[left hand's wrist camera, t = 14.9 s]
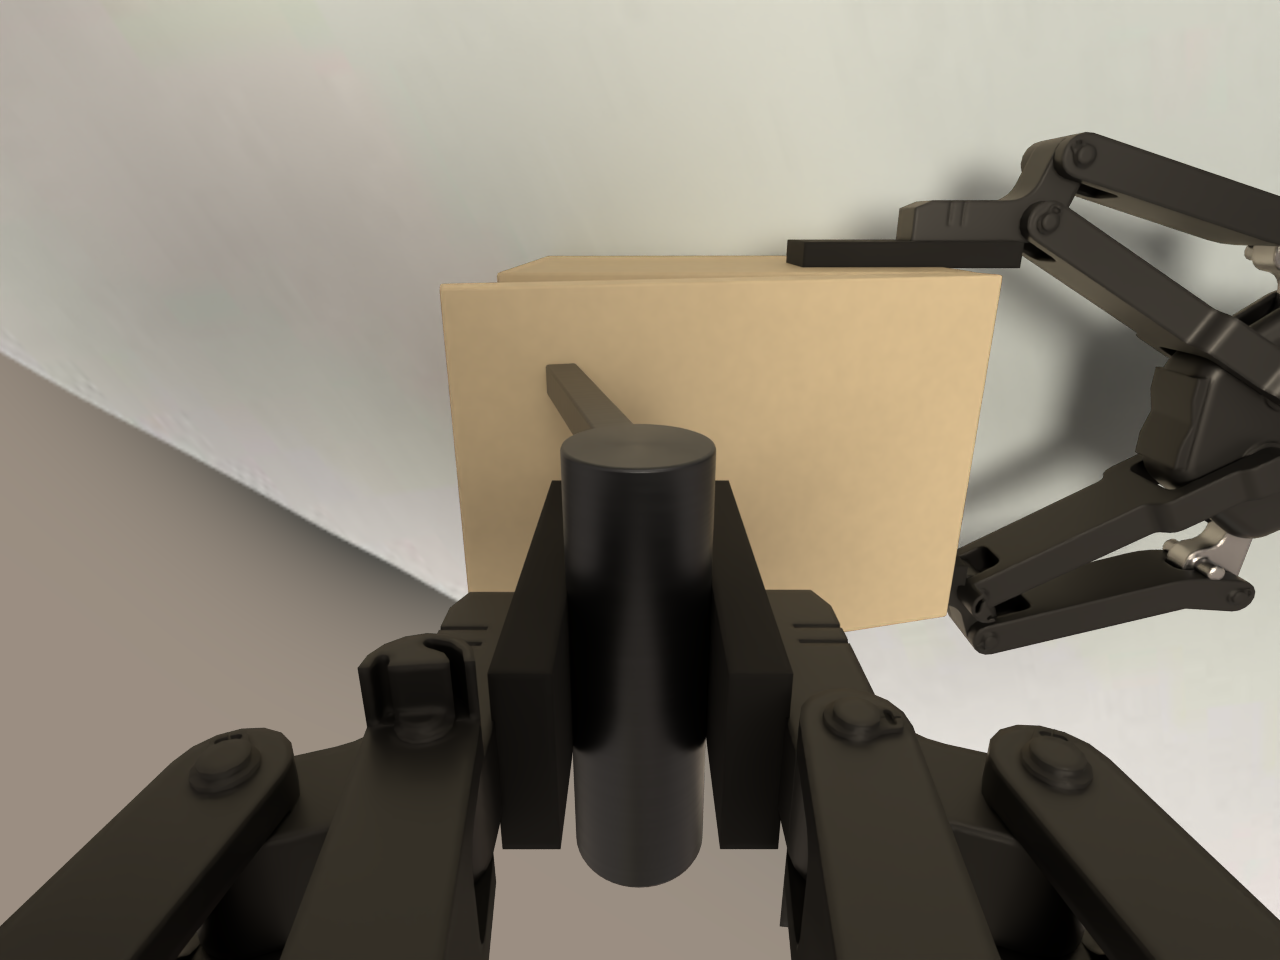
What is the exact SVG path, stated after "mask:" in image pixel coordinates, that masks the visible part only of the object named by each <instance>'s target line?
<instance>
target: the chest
mask: <svg viewBox="0 0 1280 960" xmlns="http://www.w3.org/2000/svg"><path fill="white" fill-rule="evenodd" d="M786 257H787V256H547V257H544V258H541V259H538V260H535V261H532V262H529V263H526V264H523V265H520V266H517V267H514V268H511V269H508V270H505V271H502V272H500V273H498V274H497V283H502V282H548V281H593V280H639V279H684V278H730V277H776V276H821V275H867V274H912V273H958V272H971V271H964V270H958V269H951V268H945V267H800V266H796V265H793V264H789V263H786Z"/></svg>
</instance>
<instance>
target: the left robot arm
mask: <svg viewBox="0 0 1280 960" xmlns="http://www.w3.org/2000/svg"><path fill="white" fill-rule="evenodd" d="M358 674H359V680H360V686H361V692H362V698H363V704H364V710H365V717H366V723H367V729H366V732H365V734H364V737H363V738H361V739H358V740H356V741H354V742H350V743H347V744H344V745H340V746H337V747H333V748H328V749H324V750H319V751H315V752H310V753H306V754H301V755H297V756H294V754H293V749H292V744H291V742H290V741H289V740H288V739H287V738H286V737H285V736H284V735H283V734H282V733H281V732H278V731H274V730H270V729H267V728H247V729H239V730H235V731H231V732H227V733H224V734H220V735H216V736H214V737H212V738H210V739H208V740H206V741H204V742H202V743H200V744H198V745H195V746H193V747H192V748H190V749H189V750H188V751H186V752H185V753H184V754H182V755H181V756H180V757H178V758H177V759H176V760H174V761H173V762H172V763H171V764H170V765H169V766H167V767H166V768H165V769H164V770H163V771H162V772H161V773H160V774H159V775H158V776H157V777H156V778H155V779H154V780H153V781H152V782H151V783H150V784H149V785H148V786H147V787H146V788H144V789H143V790H142V791H141V792H140V793H139V794H138V795H137V796H136V797H135V798H134V799H133V800H132V801H131V802H130V803H129V804H128V805H127V806H126V807H125V808H124V809H123V810H121V811H120V812H119V813H118V814H117V815H116V816H115V817H114V818H113V819H112V820H111V821H110V822H109V823H108V824H107V825H106V826H105V827H104V828H103V829H102V830H101V831H99V832H98V833H97V834H96V835H95V836H94V837H93V838H92V839H91V840H90V841H89V842H88V843H87V844H86V845H85V846H84V847H83V848H82V849H81V850H80V851H79V852H78V853H76V854H75V855H74V856H73V857H72V858H71V859H70V860H69V861H68V862H67V863H66V864H65V865H64V866H63V867H62V868H61V869H60V870H59V871H58V872H57V873H56V874H55V875H53V876H52V877H51V878H50V879H49V880H48V881H47V882H46V883H45V884H44V885H43V886H42V887H41V888H40V889H39V890H38V891H37V892H36V893H35V894H34V895H32V896H31V897H30V898H29V899H28V900H27V901H26V902H25V903H24V904H23V905H22V906H21V907H20V908H19V909H18V910H17V911H16V912H15V913H14V914H13V915H12V916H11V917H9V918H8V919H7V920H6V921H5V922H4V923H3V924H2V925H1V926H0V960H489V952H490V941H491V930H492V920H493V909H494V899H495V888H496V876H495V866H494V855H493V851H494V847H495V843H496V838H497V834H498V829H499V825H501V836H502V847H503V849H561V841H562V833H563V825H564V817H565V809H566V801H567V793H568V785H569V777H570V769H571V761H572V753H573V720H572V695H571V670H570V645H569V620H568V595H567V589H566V578H565V555H564V531H563V507H562V484H561V480H552V482H551V485H550V488H549V490H548V493H547V496H546V499H545V502H544V505H543V508H542V511H541V514H540V517H539V520H538V523H537V526H536V529H535V532H534V535H533V538H532V541H531V544H530V547H529V550H528V553H527V556H526V559H525V562H524V565H523V568H522V571H521V574H520V577H519V580H518V583H517V586H516V589H515V592H469V593H468V594H467V595H465V596H464V597H463V598H462V599H460V600H459V601H458V602H457V603H455V604H454V605H453V606H452V607H450V609H449V611H448V613H447V615H446V617H445V619H444V621H443V623H442V625H441V630H439V631H438V633H437V634H433V633H425V634H418V635H412V636H406V637H403V638H400V639H397V640H394V641H392V642H389V643H386V644H384V645H382V646H381V647H379V648H378V649H376V650H375V651H373V652H372V653H370V654H369V655H367V657H366V658H365V659H364V660H363V662H362V663H361V664H360V666H359V667H358ZM706 740H707V748H708V756H709V764H710V772H711V780H712V788H713V796H714V804H715V812H716V820H717V828H718V836H719V844H720V849H778V843H779V832H780V821H781V823H782V828H783V832H784V836H785V841H786V845H787V855H786V866H785V876H784V887H783V897H782V908H781V919H780V926H782V927H788V929H789V940H790V950H791V960H1280V920H1279V919H1278V918H1277V917H1276V916H1275V915H1274V914H1273V913H1271V912H1270V911H1269V910H1268V909H1267V908H1266V907H1265V906H1264V905H1263V904H1262V903H1261V902H1260V901H1259V900H1258V899H1257V898H1256V897H1255V896H1254V895H1253V894H1251V893H1250V892H1249V891H1248V890H1247V889H1246V888H1245V887H1244V886H1243V885H1242V884H1241V883H1240V882H1239V881H1238V880H1237V879H1236V878H1235V877H1234V876H1232V875H1231V874H1230V873H1229V872H1228V871H1227V870H1226V869H1225V868H1224V867H1223V866H1222V865H1221V864H1220V863H1219V862H1218V861H1217V860H1216V859H1215V858H1213V857H1212V856H1211V855H1210V854H1209V853H1208V852H1207V851H1206V850H1205V849H1204V848H1203V847H1202V846H1201V845H1200V844H1199V843H1198V842H1197V841H1196V840H1195V839H1193V838H1192V837H1191V836H1190V835H1189V834H1188V833H1187V832H1186V831H1185V830H1184V829H1183V828H1182V827H1181V826H1180V825H1179V824H1178V823H1177V822H1176V821H1174V820H1173V819H1172V818H1171V817H1170V816H1169V815H1168V814H1167V813H1166V812H1165V811H1164V810H1163V809H1162V808H1161V807H1160V806H1159V805H1158V804H1157V803H1155V802H1154V801H1153V800H1152V799H1151V798H1150V797H1149V796H1148V795H1147V794H1146V793H1145V792H1144V791H1143V790H1142V789H1141V788H1140V787H1139V786H1138V785H1137V784H1135V783H1134V782H1133V781H1132V780H1131V779H1130V778H1129V777H1128V776H1127V775H1126V774H1125V773H1124V772H1123V771H1122V770H1121V769H1120V768H1119V767H1118V766H1116V765H1115V764H1114V763H1113V762H1112V761H1111V760H1110V759H1109V758H1108V757H1106V756H1105V755H1104V754H1102V753H1101V752H1100V751H1098V750H1097V749H1095V748H1094V747H1093V746H1091V745H1090V744H1089V743H1086V742H1084V741H1082V740H1080V739H1078V738H1076V737H1074V736H1072V735H1069V734H1067V733H1065V732H1062V731H1058V730H1055V729H1051V728H1047V727H1043V726H1034V725H1015V726H1011V727H1007V728H1004V729H1000V730H999V731H998V732H997V733H996V734H995V735H994V736H993V737H992V738H991V739H990V743H989V748H988V752H987V753H984V752H980V751H975V750H971V749H966V748H961V747H957V746H952V745H948V744H944V743H940V742H937V741H934V740H930V739H927V738H925V737H923V736H920V735H918V734H916V733H915V731H914V728H913V726H912V724H911V723H910V721H909V720H908V718H907V717H906V715H905V714H904V712H903V711H901V710H900V709H899V708H897V707H896V706H895V705H893V704H892V703H891V702H889V701H888V700H886V699H883V698H881V697H879V696H876V695H875V694H874V692H873V690H872V688H871V686H870V684H869V682H868V680H867V678H866V676H865V674H864V672H863V669H862V667H861V665H860V663H859V661H858V659H857V657H856V655H855V653H854V651H853V649H852V647H851V645H850V643H848V639H847V637H846V635H845V633H844V631H843V629H842V628H840V623H839V621H838V619H837V617H836V614H835V612H834V610H833V608H832V606H831V605H830V604H828V603H827V602H826V601H825V600H823V599H822V598H821V597H820V596H818V595H817V594H816V593H814V592H813V591H812V590H765V587H764V584H763V581H762V578H761V575H760V572H759V569H758V566H757V563H756V560H755V557H754V554H753V551H752V548H751V545H750V542H749V539H748V536H747V533H746V530H745V527H744V524H743V521H742V518H741V515H740V512H739V509H738V506H737V503H736V500H735V497H734V494H733V491H732V488H731V485H730V482H729V480H715V501H714V529H713V556H712V583H711V611H710V638H709V666H708V693H707V721H706Z"/></svg>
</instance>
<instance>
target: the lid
mask: <svg viewBox="0 0 1280 960" xmlns="http://www.w3.org/2000/svg"><path fill="white" fill-rule="evenodd" d="M1001 283H1002V276H1001V275H996V274H985V273H975V272H958V273H912V274H867V275H821V276H776V277H730V278H684V279H639V280H593V281H548V282H502V283H457V284H441V285H440V299H441V310H442V320H443V331H444V341H445V352H446V362H447V373H448V383H449V394H450V404H451V415H452V425H453V436H454V446H455V456H456V467H457V477H458V488H459V498H460V509H461V519H462V530H463V540H464V551H465V561H466V572H467V582H468V593H469V592H515V589H516V586H517V583H518V580H519V577H520V574H521V571H522V568H523V565H524V562H525V559H526V556H527V553H528V550H529V547H530V544H531V541H532V538H533V535H534V532H535V529H536V526H537V523H538V520H539V517H540V514H541V511H542V508H543V505H544V502H545V499H546V496H547V493H548V490H549V488H550V485H551V482H552V480H561V484H562V507H563V531H564V555H565V578H566V589H567V595H568V620H569V645H570V670H571V695H572V720H573V767H574V791H575V814H576V838H577V845H578V848H579V851H580V853H581V855H582V857H583V859H584V860H585V862H586V863H587V865H588V866H589V867H590V868H591V869H592V870H593V871H594V872H595V873H597V874H598V875H599V876H601V877H603V878H604V879H606V880H608V881H610V882H613V883H616V884H619V885H622V886H628V887H650V886H656V885H660V884H663V883H666V882H668V881H670V880H673V879H674V878H676V877H678V876H679V875H681V874H682V873H683V872H684V871H686V869H688V867H689V866H690V865H691V864H692V863H693V861H694V860H695V858H696V857H697V855H698V853H699V850H700V847H701V843H702V831H703V803H704V776H705V748H706V721H707V693H708V666H709V638H710V611H711V583H712V556H713V529H714V501H715V480H729V482H730V485H731V488H732V491H733V494H734V497H735V500H736V503H737V506H738V509H739V512H740V515H741V518H742V521H743V524H744V527H745V530H746V533H747V536H748V539H749V542H750V545H751V548H752V551H753V554H754V557H755V560H756V563H757V566H758V569H759V572H760V575H761V578H762V581H763V584H764V587H765V590H812V591H813V592H814V593H816V594H817V595H818V596H820V597H821V598H822V599H823V600H825V601H826V602H827V603H828V604H830V605H831V606H832V608H833V610H834V612H835V614H836V617H837V619H838V621H839V623H840V628H842V629H843V631H844V632H848V631H854V630H861V629H867V628H873V627H880V626H886V625H893V624H899V623H905V622H912V621H918V620H925V619H931V618H938V617H944V616H946V614H947V608H948V602H949V596H950V590H951V584H952V578H953V572H954V566H955V560H956V554H957V548H958V542H959V536H960V530H961V524H962V518H963V512H964V506H965V500H966V494H967V488H968V482H969V476H970V470H971V464H972V458H973V451H974V445H975V439H976V433H977V427H978V421H979V415H980V409H981V403H982V397H983V391H984V385H985V379H986V373H987V367H988V361H989V355H990V349H991V343H992V337H993V331H994V325H995V319H996V313H997V307H998V301H999V295H1000V289H1001Z"/></svg>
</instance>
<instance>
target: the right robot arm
mask: <svg viewBox="0 0 1280 960" xmlns="http://www.w3.org/2000/svg"><path fill="white" fill-rule="evenodd" d="M1021 170H1022V173H1021V175H1020V177H1019V179H1018V181H1017V183H1016V185H1015V186H1014V188H1013V189H1012V191H1011V192H1010V193H1009V194H1008V195H1006V196H1005V197H1003V198H1002V199H999V200H932V201H919V202H914V203H912V204H909V205H907V206H905V207H902V208H900V209H899V218H898V227H897V235H896V240H788V241H787V257H786V263H789V264H793V265H796V266H800V267H945V268H1020V264H1021V258H1022V256H1024V257H1025V258H1027V259H1028V260H1030V261H1031V262H1033V263H1034V264H1035V265H1037V266H1038V267H1040V268H1041V269H1043V270H1044V271H1046V272H1047V273H1049V274H1050V275H1052V276H1053V277H1055V278H1056V279H1058V280H1059V281H1061V282H1062V283H1064V284H1065V285H1067V286H1068V287H1070V288H1071V289H1073V290H1074V291H1076V292H1077V293H1079V294H1080V295H1082V296H1083V297H1085V298H1086V299H1088V300H1089V301H1091V302H1092V303H1094V304H1095V305H1097V306H1098V307H1100V308H1101V309H1102V310H1104V311H1105V312H1107V313H1108V314H1110V315H1111V316H1113V317H1114V318H1116V319H1117V320H1119V321H1120V322H1122V323H1123V324H1125V325H1126V326H1128V327H1129V328H1131V329H1132V330H1134V331H1135V332H1136V333H1137V334H1136V336H1137V337H1138V338H1140V339H1141V340H1143V341H1144V342H1145V343H1147V344H1148V345H1150V346H1151V347H1153V348H1154V349H1156V350H1157V351H1159V352H1160V353H1162V354H1163V355H1165V356H1166V357H1168V358H1169V360H1168V361H1167V363H1166V364H1165V366H1164V367H1156V369H1155V373H1154V377H1153V381H1152V385H1151V412H1150V414H1149V415H1148V417H1147V419H1146V421H1145V423H1144V425H1143V427H1142V429H1141V431H1140V434H1139V438H1138V442H1137V446H1136V450H1135V452H1136V453H1138V454H1137V455H1135V456H1133V457H1131V458H1129V459H1127V460H1125V461H1123V462H1121V463H1119V464H1117V465H1115V466H1112V467H1110V468H1109V469H1107V470H1106V471H1105V472H1104V473H1103V479H1102V480H1100V481H1099V482H1097V483H1095V484H1092V485H1090V486H1088V487H1086V488H1084V489H1082V490H1080V491H1078V492H1076V493H1074V494H1072V495H1070V496H1067V497H1065V498H1063V499H1061V500H1059V501H1057V502H1055V503H1053V504H1051V505H1049V506H1047V507H1045V508H1042V509H1040V510H1038V511H1036V512H1034V513H1032V514H1030V515H1028V516H1026V517H1024V518H1022V519H1020V520H1017V521H1015V522H1013V523H1011V524H1009V525H1007V526H1005V527H1003V528H1001V529H999V530H997V531H994V532H992V533H990V534H988V535H986V536H984V537H982V538H980V539H978V540H976V541H974V542H972V543H969V544H967V545H965V546H963V547H961V548H959V549H957V554H956V560H955V566H954V572H953V578H952V584H951V590H950V596H949V602H948V608H947V612H948V615H949V616H950V617H951V619H952V620H953V621H954V623H955V624H956V625H957V627H958V628H959V629H960V630H961V632H962V633H963V634H964V636H965V637H966V638H967V640H968V641H969V642H970V643H971V645H972V646H973V647H974V649H975V650H976V651H978V652H979V653H981V654H985V655H986V654H994V653H998V652H1003V651H1007V650H1011V649H1015V648H1020V647H1024V646H1028V645H1032V644H1037V643H1041V642H1045V641H1049V640H1054V639H1058V638H1062V637H1066V636H1071V635H1075V634H1079V633H1083V632H1088V631H1092V630H1096V629H1100V628H1105V627H1109V626H1113V625H1117V624H1122V623H1126V622H1130V621H1135V620H1139V619H1143V618H1147V617H1152V616H1156V615H1160V614H1164V613H1169V612H1173V611H1177V610H1181V609H1202V610H1219V611H1238V610H1241V609H1243V608H1245V607H1246V606H1248V605H1249V604H1250V603H1251V602H1252V600H1253V598H1254V595H1255V590H1254V587H1253V586H1252V585H1251V584H1250V583H1249V582H1247V581H1245V580H1244V579H1242V578H1240V577H1239V576H1238V574H1239V572H1240V569H1241V567H1242V564H1243V561H1244V559H1245V556H1246V554H1247V551H1248V549H1249V546H1250V544H1251V541H1252V538H1260V537H1263V536H1267V535H1269V534H1271V533H1274V532H1276V531H1278V530H1280V196H1278V195H1275V194H1272V193H1269V192H1266V191H1263V190H1260V189H1257V188H1254V187H1251V186H1248V185H1245V184H1242V183H1239V182H1236V181H1234V180H1231V179H1228V178H1225V177H1222V176H1219V175H1216V174H1213V173H1210V172H1207V171H1204V170H1201V169H1198V168H1195V167H1193V166H1190V165H1187V164H1184V163H1181V162H1178V161H1175V160H1172V159H1169V158H1166V157H1163V156H1160V155H1157V154H1154V153H1151V152H1149V151H1146V150H1143V149H1140V148H1137V147H1134V146H1131V145H1128V144H1125V143H1122V142H1119V141H1116V140H1113V139H1110V138H1107V137H1105V136H1102V135H1099V134H1096V133H1090V132H1084V133H1079V134H1074V135H1069V136H1065V137H1060V138H1055V139H1050V140H1045V141H1041V142H1038V143H1035V144H1033V145H1032V146H1030V147H1029V148H1028V149H1027V150H1026V152H1025V153H1024V155H1023V157H1022V161H1021ZM1074 196H1076V197H1079V198H1082V199H1086V200H1089V201H1092V202H1095V203H1098V204H1101V205H1104V206H1107V207H1110V208H1113V209H1116V210H1119V211H1122V212H1125V213H1128V214H1131V215H1134V216H1137V217H1140V218H1143V219H1146V220H1149V221H1152V222H1155V223H1158V224H1161V225H1164V226H1167V227H1170V228H1173V229H1176V230H1179V231H1182V232H1185V233H1188V234H1191V235H1194V236H1197V237H1200V238H1203V239H1206V240H1210V241H1214V242H1217V243H1222V244H1231V245H1248V246H1247V247H1246V249H1245V252H1244V255H1245V257H1246V259H1248V260H1252V262H1253V264H1254V266H1255V267H1256V268H1257V269H1259V270H1262V271H1266V272H1270V273H1272V274H1273V275H1274V276H1275V277H1276V279H1277V283H1278V289H1277V290H1276V291H1273V292H1271V293H1269V294H1267V295H1265V296H1263V297H1262V298H1260V299H1258V300H1257V301H1255V302H1254V303H1252V304H1250V305H1249V306H1247V307H1245V308H1244V309H1242V310H1240V311H1239V312H1237V313H1236V314H1234V315H1232V316H1231V315H1228V314H1225V313H1222V312H1220V311H1218V310H1216V309H1214V308H1212V307H1211V306H1209V305H1208V304H1206V303H1205V302H1204V301H1202V300H1201V299H1199V298H1198V297H1196V296H1195V295H1193V294H1192V293H1191V292H1189V291H1188V290H1186V289H1185V288H1183V287H1182V286H1181V285H1179V284H1178V283H1176V282H1175V281H1173V280H1172V279H1170V278H1169V277H1168V276H1166V275H1165V274H1163V273H1162V272H1160V271H1159V270H1158V269H1156V268H1155V267H1153V266H1152V265H1150V264H1149V263H1147V262H1146V261H1145V260H1143V259H1142V258H1140V257H1139V256H1137V255H1136V254H1135V253H1133V252H1132V251H1130V250H1129V249H1127V248H1126V247H1124V246H1123V245H1122V244H1120V243H1119V242H1117V241H1116V240H1114V239H1113V238H1111V237H1110V236H1109V235H1107V234H1106V233H1104V232H1103V231H1101V230H1100V229H1099V228H1097V227H1096V226H1094V225H1093V224H1091V223H1090V222H1088V221H1087V220H1086V219H1084V218H1083V217H1081V216H1080V215H1078V214H1077V213H1076V212H1074V211H1073V210H1071V209H1070V208H1069V206H1070V204H1071V202H1072V200H1073V198H1074ZM1157 484H1161V485H1162V486H1163V487H1164V488H1163V487H1161V486H1159V485H1157ZM1165 488H1166V489H1165ZM1204 520H1205V521H1206V522H1208V524H1207V526H1206V528H1205V530H1204V531H1203V532H1202V533H1201V534H1199V535H1198V536H1196V537H1194V538H1192V539H1186V540H1181V541H1177V540H1176V539H1170V540H1167V541H1166V542H1165V543H1164V545H1163V550H1144V551H1136V552H1131V553H1126V554H1122V555H1118V556H1114V557H1110V558H1106V559H1102V560H1098V561H1094V560H1096V559H1098V558H1100V557H1102V556H1105V555H1107V554H1109V553H1111V552H1113V551H1116V550H1118V549H1120V548H1122V547H1124V546H1126V545H1129V544H1131V543H1133V542H1135V541H1137V540H1139V539H1142V538H1144V537H1146V536H1148V535H1150V534H1153V533H1156V532H1166V533H1173V532H1179V531H1182V530H1185V529H1187V528H1189V527H1191V526H1193V525H1195V524H1198V523H1200V522H1202V521H1204ZM1092 561H1093V562H1092Z"/></svg>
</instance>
